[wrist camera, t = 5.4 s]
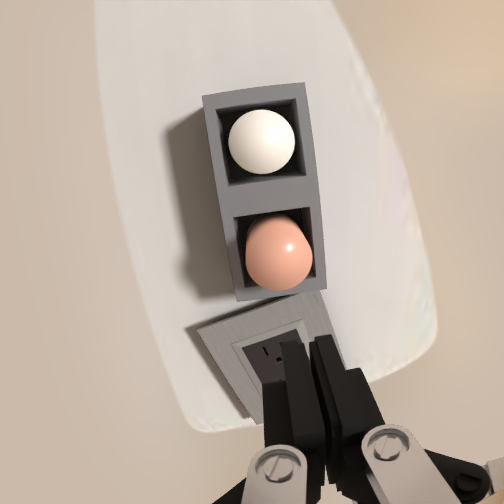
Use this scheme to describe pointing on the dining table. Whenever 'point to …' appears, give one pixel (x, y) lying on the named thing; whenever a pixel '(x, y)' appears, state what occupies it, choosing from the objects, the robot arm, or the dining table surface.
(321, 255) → the button console
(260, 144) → the white button
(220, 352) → the electrical outlet
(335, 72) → the dining table surface
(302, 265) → the pink button
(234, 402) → the dining table surface
